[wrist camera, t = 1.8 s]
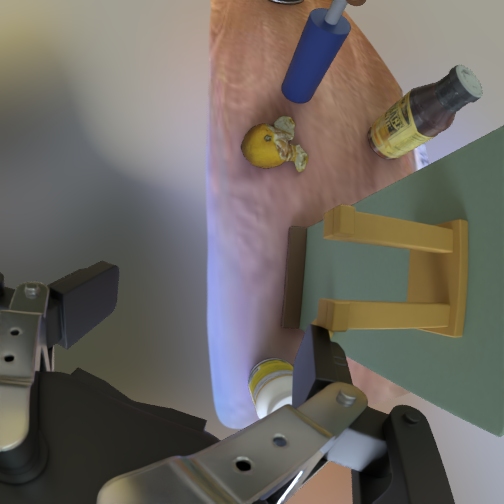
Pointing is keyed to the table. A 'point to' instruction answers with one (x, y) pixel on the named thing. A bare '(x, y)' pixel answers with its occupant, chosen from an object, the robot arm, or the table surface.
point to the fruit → (273, 145)
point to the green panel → (416, 281)
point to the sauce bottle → (423, 113)
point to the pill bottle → (271, 385)
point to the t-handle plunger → (316, 50)
